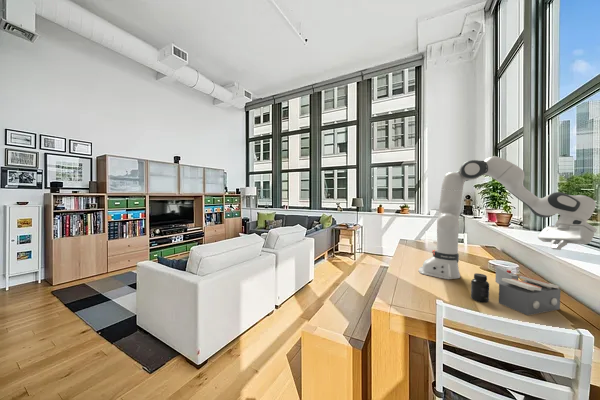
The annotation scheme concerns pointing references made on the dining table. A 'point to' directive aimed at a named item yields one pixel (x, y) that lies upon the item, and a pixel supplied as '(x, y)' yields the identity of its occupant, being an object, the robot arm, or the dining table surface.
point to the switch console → (529, 298)
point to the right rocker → (539, 282)
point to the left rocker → (522, 284)
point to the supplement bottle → (480, 288)
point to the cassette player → (504, 274)
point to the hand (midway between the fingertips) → (555, 249)
